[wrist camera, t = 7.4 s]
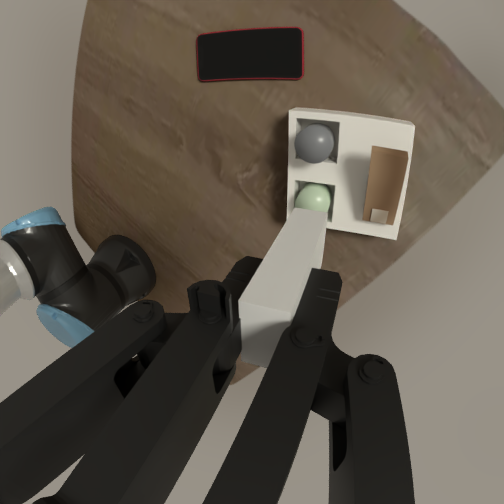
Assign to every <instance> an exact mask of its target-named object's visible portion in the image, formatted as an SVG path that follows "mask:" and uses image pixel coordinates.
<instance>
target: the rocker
mask: <svg viewBox="0 0 504 504" xmlns="http://www.w3.org/2000/svg"><path fill="white" fill-rule="evenodd" d="M408 159H409V158H408V151H402V150H397V149H391V148H385V147H379V146H373V145H372V149H371V158H370V167H369V175H368V182H367V190H366V197H365V204H364V210H363V218H362V220H364V221H370V222H376V223H382V224H387V225H393V224H394V220H395V217H396V213H397V209H398V204H399V200H400V196H401V192H402V187H403V183H404V178H405V173H406V169H407V164H408Z"/></svg>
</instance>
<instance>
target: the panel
mask: <svg viewBox="0 0 504 504" xmlns="http://www.w3.org/2000/svg"><path fill="white" fill-rule="evenodd" d="M312 123H322V124H325V125H327V126H328V127H329V128H330V129H331V130H332V131H333V133H334V136H335V145H334V147H333V149H332V151H331V153H330V155H329V157H328V158H327V159H326V160H324V161H323V162H321V163H316V164H312V163H308V162H305V161H304V160H302V159H301V158H300V157H299V156H298V154H297V153H296V150H295V146H294V143H295V138H296V136H297V135H298V133H299V132H300V131H302V130H303V129H304V128H305V127H307V126H308V125H310V124H312ZM414 130H415V126H414V124H413V123H412V122H410V121H405V120H399V119H393V118H387V117H381V116H374V115H367V114H360V113H352V112H343V111H334V110H323V109H312V108H297V107H296V108H293V109H291V110H289V147H288V192H287V219H288V218H289V216H290V214H291V213H292V211H293V209H294V208H295V201H296V198H297V197H298V195H299V193H300V192H301V190H302V188H303V187H304V185H305V184H306V183H308V182H315V183H323V184H327V185H328V186H329V188H330V190H331V192H332V200H331V203H330V206H329V209H328V212H327V213H328V216H327V225H326V228H329V229H336V230H342V231H348V232H354V233H360V234H365V235H371V236H377V237H383V238H388V239H394V240H396V239H397V235H398V230H399V225H400V220H401V215H402V210H403V205H404V200H405V194H406V188H407V182H408V176H409V169H410V163H411V155H412V148H413V139H414ZM372 145H373V146H379V147H385V148H391V149H397V150H402V151H408V158H409V159H408V164H407V169H406V173H405V178H404V183H403V187H402V192H401V196H400V200H399V204H398V209H397V213H396V217H395V220H394V224H393V225H387V224H382V223H376V222H370V221H364V220H362V218H363V210H364V204H365V197H366V190H367V182H368V175H369V167H370V158H371V149H372Z"/></svg>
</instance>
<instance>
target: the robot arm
mask: <svg viewBox="0 0 504 504" xmlns="http://www.w3.org/2000/svg"><path fill="white" fill-rule="evenodd" d="M327 216H328V213H327V212H321V211H314V210H308V209H302V208H294V209H293V211H292V213H291V214H290V216H289V218H288V219H287V221H286V223H285V224H284V226H283V228H282V229H281V231H280V233H279V234H278V236H277V238H276V239H275V241H274V243H273V244H272V246H271V248H270V249H269V251H268V253H267V254H266V256H265V258H264V259H260V258H255V257H250V256H246V257H244V258H243V259H241V260H239V261H238V262H236V264H235V265H234V267H233V268H232V269H231V272H229V274H228V275H227V276H226V279H224V280H223V282H219V281H216V280H204V281H199V282H197V283H194V284H192V285H191V286H190V287H189V288H187V292H188V298H189V304H190V311H189V313H164V310H163V306H162V305H161V304H160V303H159V302H156V301H153V300H142V301H138V302H136V303H134V304H132V305H130V306H129V307H127V308H126V309H125V310H123V311H122V312H121V313H119V312H120V311H121V310H122V309H123V308H124V307H125V306H127V305H129V304H131V303H133V302H135V301H137V300H139V299H142V298H144V297H145V296H147V295H148V294H149V293H150V292H151V290H152V289H153V288H154V286H155V283H156V275H155V270H154V267H153V265H152V263H151V261H150V259H149V257H148V256H147V255H146V253H145V252H144V251H143V250H142V248H141V247H140V246H138V245H137V244H136V243H135V242H134V241H132V240H131V239H129V238H127V237H124V236H121V235H112V236H110V237H108V238H107V239H106V240H104V241H103V242H102V243H101V244H100V245H99V247H98V249H97V251H96V253H95V254H94V256H93V257H92V259H91V261H90V262H89V264H87V265H85V263H84V261H83V259H82V257H81V256H80V254H79V252H78V250H77V248H76V246H75V245H74V242H73V241H72V239H71V237H70V235H69V233H68V231H67V229H66V225H65V223H64V222H63V221H62V220H61V217H60V216H59V214H58V212H57V210H56V209H55V208H53V207H44V208H42V209H39V210H36V211H34V212H31V213H29V214H27V215H25V216H23V217H21V218H19V219H17V220H15V221H13V222H11V223H9V224H8V225H6V226H5V227H4V228H2V230H1V233H2V239H0V316H1V315H2V314H3V313H4V312H5V311H6V310H7V309H8V308H9V307H10V306H11V305H13V304H14V303H15V302H16V301H17V300H18V299H19V298H23V299H27V300H31V299H32V298H34V297H35V296H36V297H37V298H38V300H39V301H40V303H41V304H40V305H39V306H38V308H37V315H38V316H39V319H40V321H41V322H42V324H43V325H44V326H45V328H46V329H47V330H48V331H49V332H50V333H51V334H52V335H53V336H55V337H56V338H57V339H58V340H59V341H61V342H62V343H64V344H65V345H67V346H69V347H71V348H72V349H70V350H69V351H68V352H66V353H65V354H64V355H62V356H61V357H60V358H58V359H57V360H56V361H54V362H53V363H52V364H50V365H49V366H48V367H46V368H45V369H44V370H42V371H41V372H40V373H38V374H37V375H36V376H35V377H33V378H32V379H31V380H30V381H28V382H27V383H26V384H24V385H23V386H22V387H20V388H19V389H18V390H16V391H15V392H14V393H13V394H11V395H10V396H9V397H8V398H6V399H5V400H4V401H2V402H1V403H0V504H22V503H24V502H26V501H27V500H29V499H30V498H32V497H33V496H35V495H36V494H37V493H38V492H40V490H42V489H43V488H44V487H46V486H47V485H48V484H49V483H51V482H52V481H53V480H54V479H55V478H57V477H58V476H59V475H60V474H61V473H63V472H64V471H65V470H66V469H67V468H68V467H70V466H71V465H72V464H73V463H74V462H76V461H77V460H78V459H79V458H80V457H81V456H83V455H84V454H85V455H84V456H83V457H82V459H81V460H80V462H79V463H78V464H77V466H76V467H75V469H74V470H73V471H72V473H71V474H70V476H69V477H68V478H67V480H66V481H65V483H64V484H63V485H62V487H61V488H60V490H59V491H58V492H57V493H56V494H55V495H53V496H49V497H43V498H40V499H38V500H36V501H35V502H33V504H164V503H165V501H166V499H167V498H168V496H169V494H170V492H171V491H172V489H173V487H174V485H175V484H176V482H177V480H178V478H179V477H180V475H181V473H182V471H183V470H184V468H185V466H186V464H187V462H188V460H189V459H190V457H191V455H192V453H193V452H194V450H195V448H196V446H197V444H198V442H199V441H200V439H201V437H202V435H203V433H204V431H205V429H206V427H207V425H208V424H209V422H210V420H211V418H212V416H213V414H214V412H215V411H216V409H217V407H218V405H219V403H220V401H221V399H222V397H223V395H224V394H225V391H226V390H227V388H228V386H229V384H230V382H231V380H232V378H233V376H234V374H235V370H236V360H237V358H238V356H239V354H240V352H241V361H243V362H247V363H250V364H254V365H258V366H261V367H265V368H267V370H266V372H265V374H264V377H263V379H262V381H261V384H260V386H259V388H258V390H257V393H256V395H255V397H254V399H253V401H252V404H251V406H250V408H249V410H248V412H247V414H246V417H245V419H244V421H243V423H242V425H241V427H240V429H239V432H238V434H237V436H236V438H235V440H234V442H233V444H232V446H231V448H230V450H229V452H228V454H227V456H226V459H225V461H224V463H223V465H222V467H221V469H220V471H219V473H218V474H217V476H216V479H215V480H214V483H213V484H212V486H211V488H210V490H209V492H208V494H207V496H206V498H205V500H204V502H203V503H202V504H277V503H278V501H279V498H280V496H281V493H282V491H283V488H284V485H285V483H286V480H287V477H288V475H289V472H290V469H291V467H292V464H293V461H294V458H295V455H296V453H297V450H298V447H299V444H300V441H301V438H302V435H303V431H304V428H305V425H306V423H307V419H308V416H309V413H310V410H312V411H314V412H315V413H317V414H319V415H321V416H322V417H324V418H326V419H328V420H329V504H415V499H414V488H413V478H412V469H411V461H410V454H409V446H408V439H407V433H406V427H405V421H404V415H403V409H402V404H401V399H400V393H399V388H398V384H397V379H396V374H395V372H394V369H393V366H392V365H391V364H390V363H389V362H388V361H387V360H386V359H384V358H382V357H380V356H378V355H373V354H365V355H360V356H358V357H356V358H353V357H351V356H349V355H347V354H345V353H344V352H342V351H341V350H340V349H339V348H338V347H337V346H336V345H335V344H334V342H333V340H332V336H331V332H332V328H333V324H334V320H335V315H336V311H337V306H338V301H339V297H340V292H341V287H342V280H341V277H340V275H339V273H337V272H332V271H327V270H322V269H320V268H321V265H322V257H323V250H324V242H325V234H326V225H327ZM118 313H119V314H118ZM136 354H137V356H136V357H134V356H135V355H136ZM132 357H134V358H132Z"/></svg>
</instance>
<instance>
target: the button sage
mask: <svg viewBox="0 0 504 504" xmlns="http://www.w3.org/2000/svg"><path fill="white" fill-rule="evenodd" d="M331 200H332V192H331V190H330V188H329V186H328V185H327V184H323V183H315V182H308V183H306V184H305V185H304V187H303V188H302V190H301V192H300V193H299V195H298V197H297V198H296V201H295V208H302V209H308V210H314V211H321V212H328V209H329V206H330V203H331Z"/></svg>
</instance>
